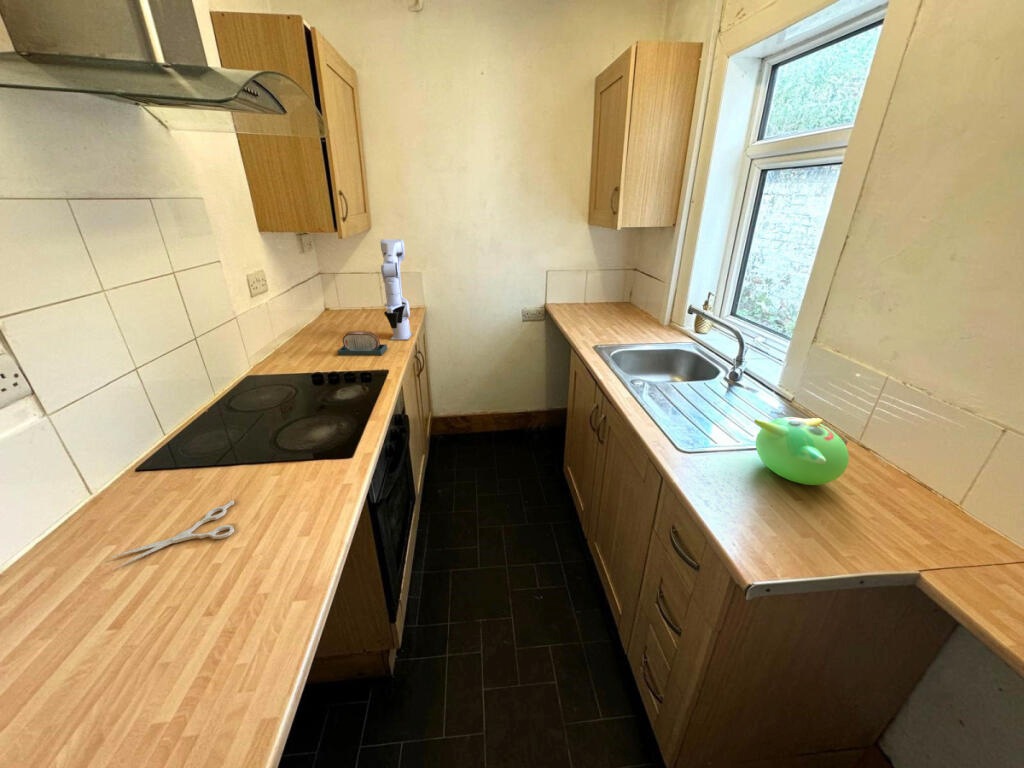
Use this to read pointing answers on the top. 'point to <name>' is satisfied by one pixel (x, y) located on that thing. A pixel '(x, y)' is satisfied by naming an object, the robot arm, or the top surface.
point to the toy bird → (801, 450)
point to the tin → (361, 341)
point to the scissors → (190, 533)
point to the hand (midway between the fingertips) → (396, 325)
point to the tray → (363, 351)
